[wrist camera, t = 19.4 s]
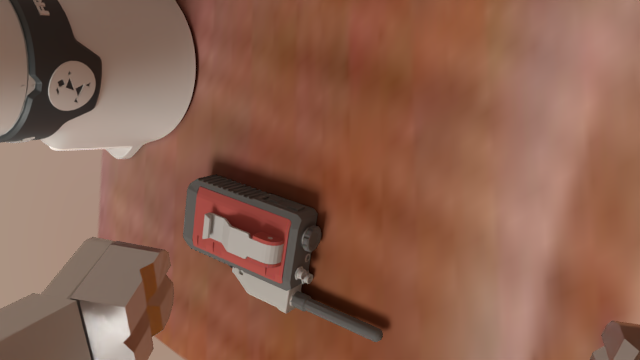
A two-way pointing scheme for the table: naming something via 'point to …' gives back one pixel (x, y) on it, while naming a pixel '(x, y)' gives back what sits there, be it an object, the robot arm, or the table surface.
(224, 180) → the walkie-talkie
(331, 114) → the table surface
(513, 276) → the table surface
